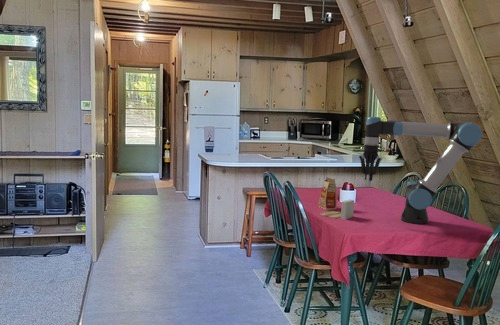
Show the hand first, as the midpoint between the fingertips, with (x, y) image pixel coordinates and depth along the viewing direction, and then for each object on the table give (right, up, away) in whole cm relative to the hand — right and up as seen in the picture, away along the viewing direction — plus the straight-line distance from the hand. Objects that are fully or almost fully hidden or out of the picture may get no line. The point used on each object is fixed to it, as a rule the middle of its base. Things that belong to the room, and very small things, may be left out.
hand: (368, 186), depth 271 cm
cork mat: (-17, -18, +16) cm, 29 cm away
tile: (-10, -19, +10) cm, 24 cm away
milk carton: (-17, -16, +34) cm, 41 cm away
